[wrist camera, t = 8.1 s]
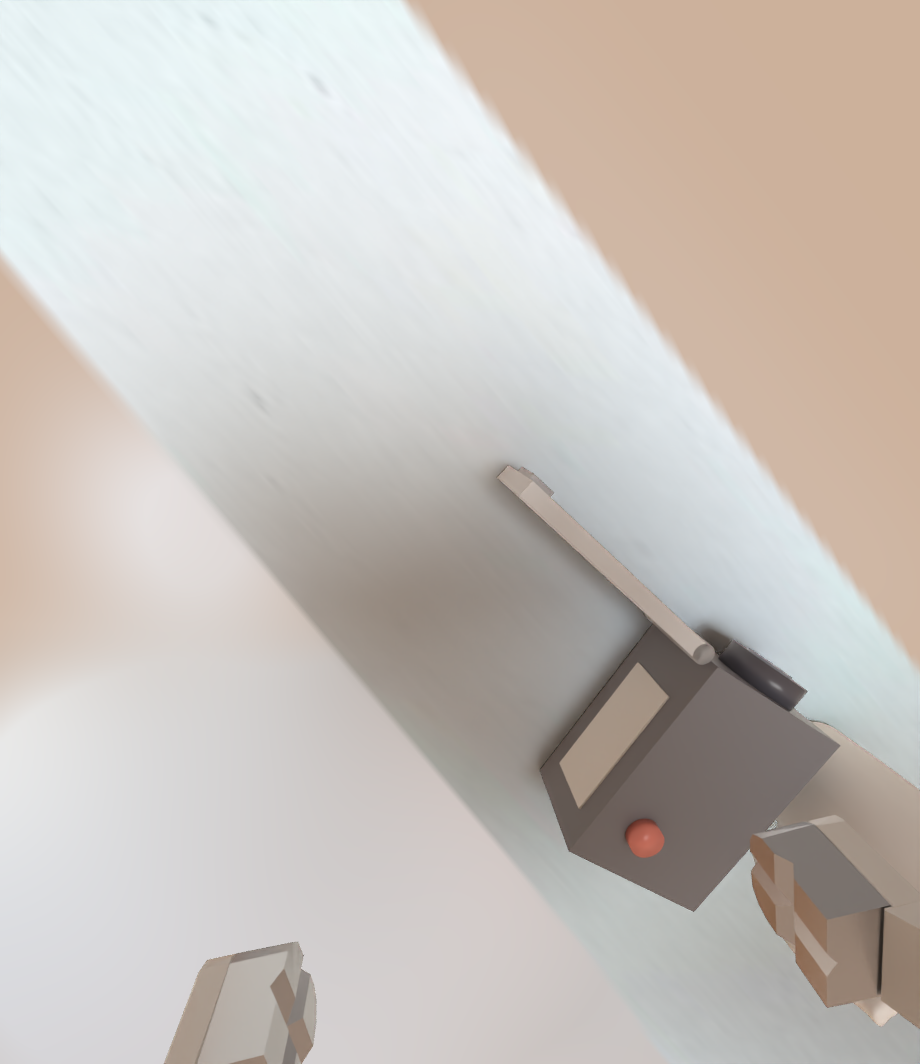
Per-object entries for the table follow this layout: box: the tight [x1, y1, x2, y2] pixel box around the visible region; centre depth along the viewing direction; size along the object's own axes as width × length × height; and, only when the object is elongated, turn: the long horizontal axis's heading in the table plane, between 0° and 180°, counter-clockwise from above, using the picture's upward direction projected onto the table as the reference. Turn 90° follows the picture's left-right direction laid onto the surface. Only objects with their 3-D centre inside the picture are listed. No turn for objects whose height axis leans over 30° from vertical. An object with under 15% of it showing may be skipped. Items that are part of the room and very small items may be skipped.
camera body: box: [540, 624, 841, 912], centre depth 26 cm, size 8×12×6 cm, turn 146°
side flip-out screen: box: [497, 465, 715, 665], centre depth 23 cm, size 1×12×5 cm, turn 47°
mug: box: [753, 722, 920, 1026], centre depth 25 cm, size 10×7×12 cm, turn 124°
